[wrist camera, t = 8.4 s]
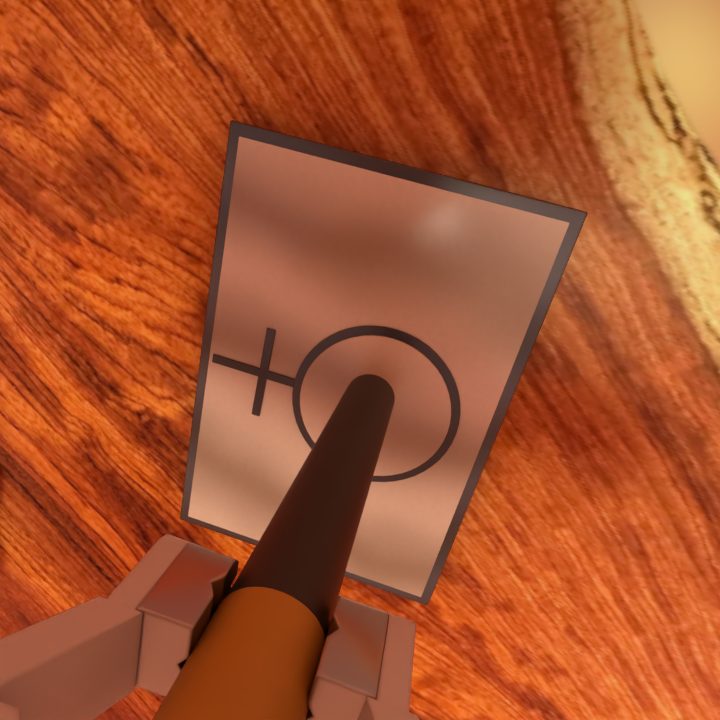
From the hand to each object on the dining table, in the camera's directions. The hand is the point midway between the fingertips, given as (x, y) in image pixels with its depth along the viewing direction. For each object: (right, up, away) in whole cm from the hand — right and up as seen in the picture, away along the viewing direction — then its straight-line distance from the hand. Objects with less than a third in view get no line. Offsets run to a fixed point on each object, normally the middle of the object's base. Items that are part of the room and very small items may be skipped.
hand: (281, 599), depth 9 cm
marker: (+2, +3, +10) cm, 11 cm away
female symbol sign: (+1, +3, +13) cm, 13 cm away
